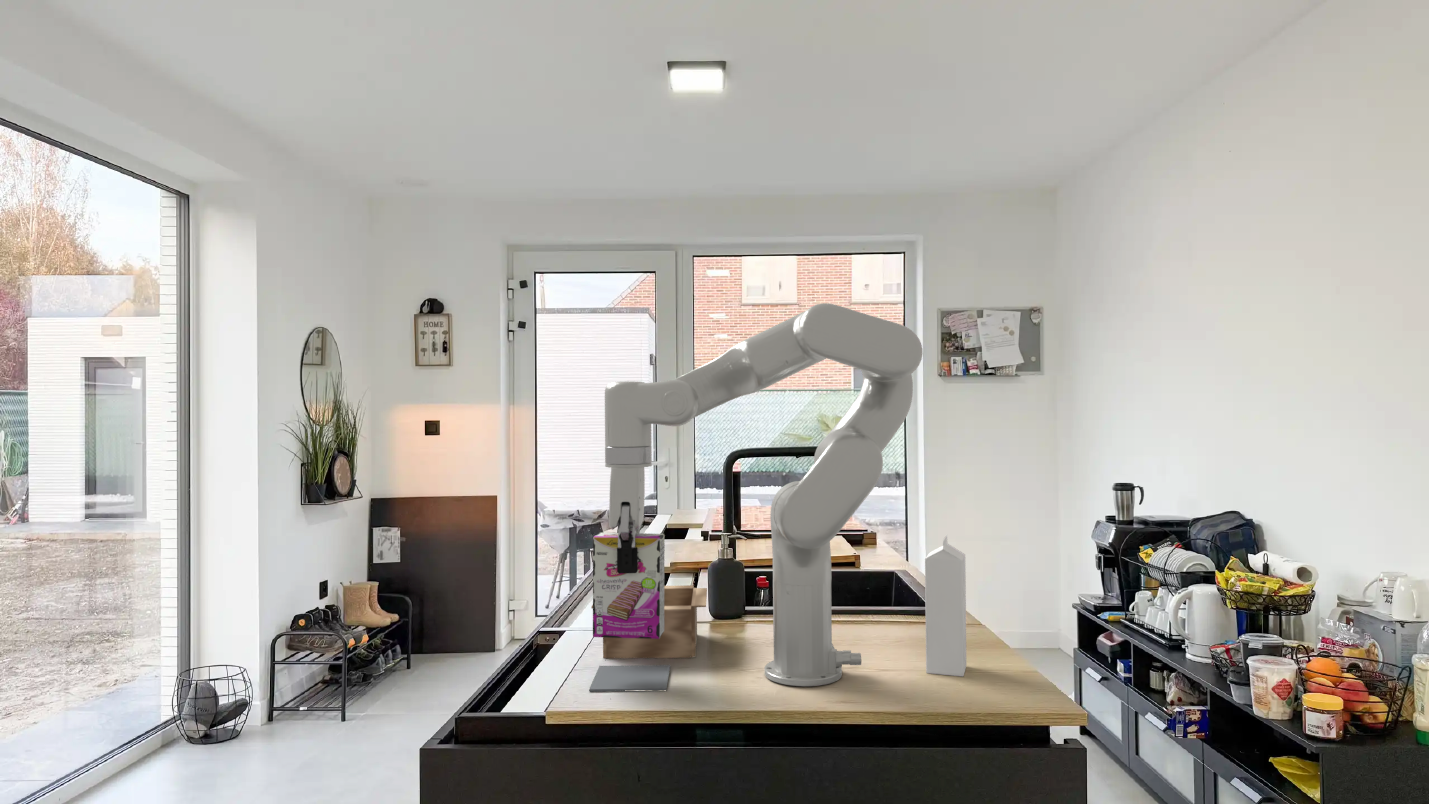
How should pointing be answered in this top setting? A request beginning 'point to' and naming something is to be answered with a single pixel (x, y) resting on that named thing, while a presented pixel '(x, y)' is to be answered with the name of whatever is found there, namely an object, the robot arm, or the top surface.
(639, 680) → the mat
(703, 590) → the open wooden box
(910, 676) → the top surface
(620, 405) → the robot arm
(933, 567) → the milk
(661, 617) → the candy bar box
